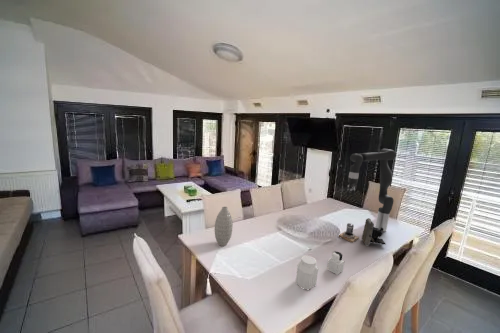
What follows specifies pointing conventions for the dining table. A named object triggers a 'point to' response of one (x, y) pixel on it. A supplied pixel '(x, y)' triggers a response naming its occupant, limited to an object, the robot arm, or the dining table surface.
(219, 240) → the vase
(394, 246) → the dining table surface
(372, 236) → the vintage camera
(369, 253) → the dining table surface
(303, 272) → the jar
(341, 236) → the mount
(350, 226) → the lens
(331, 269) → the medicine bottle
